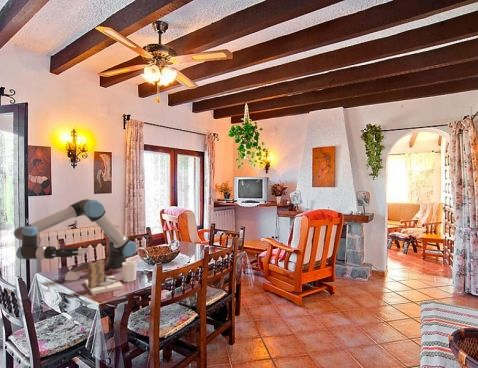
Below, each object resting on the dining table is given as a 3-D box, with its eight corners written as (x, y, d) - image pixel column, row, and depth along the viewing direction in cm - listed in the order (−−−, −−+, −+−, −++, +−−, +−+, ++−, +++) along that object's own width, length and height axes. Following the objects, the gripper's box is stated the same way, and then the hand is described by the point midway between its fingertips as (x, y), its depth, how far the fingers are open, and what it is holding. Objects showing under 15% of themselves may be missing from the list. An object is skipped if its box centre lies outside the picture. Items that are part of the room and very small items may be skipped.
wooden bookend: (101, 278, 196) (102, 256, 196) (119, 279, 193) (120, 257, 193) (79, 288, 176) (80, 263, 176) (99, 290, 173) (99, 265, 173)
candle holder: (118, 280, 198) (119, 263, 198) (131, 276, 206) (131, 260, 206) (127, 283, 193) (127, 265, 193) (139, 279, 201) (140, 262, 201)
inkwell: (64, 277, 201) (64, 263, 201) (92, 273, 212) (92, 260, 212) (65, 281, 194) (65, 266, 194) (94, 277, 204) (95, 263, 204)
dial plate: (113, 278, 202) (113, 275, 202) (123, 288, 183) (123, 285, 183) (84, 283, 191) (84, 280, 191) (92, 294, 172) (92, 291, 172)
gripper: (54, 254, 185) (92, 254, 188) (37, 263, 165) (79, 262, 168) (55, 243, 185) (92, 242, 188) (37, 250, 165) (80, 249, 168)
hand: (86, 252), depth 178 cm, fingers open, 7 cm apart
